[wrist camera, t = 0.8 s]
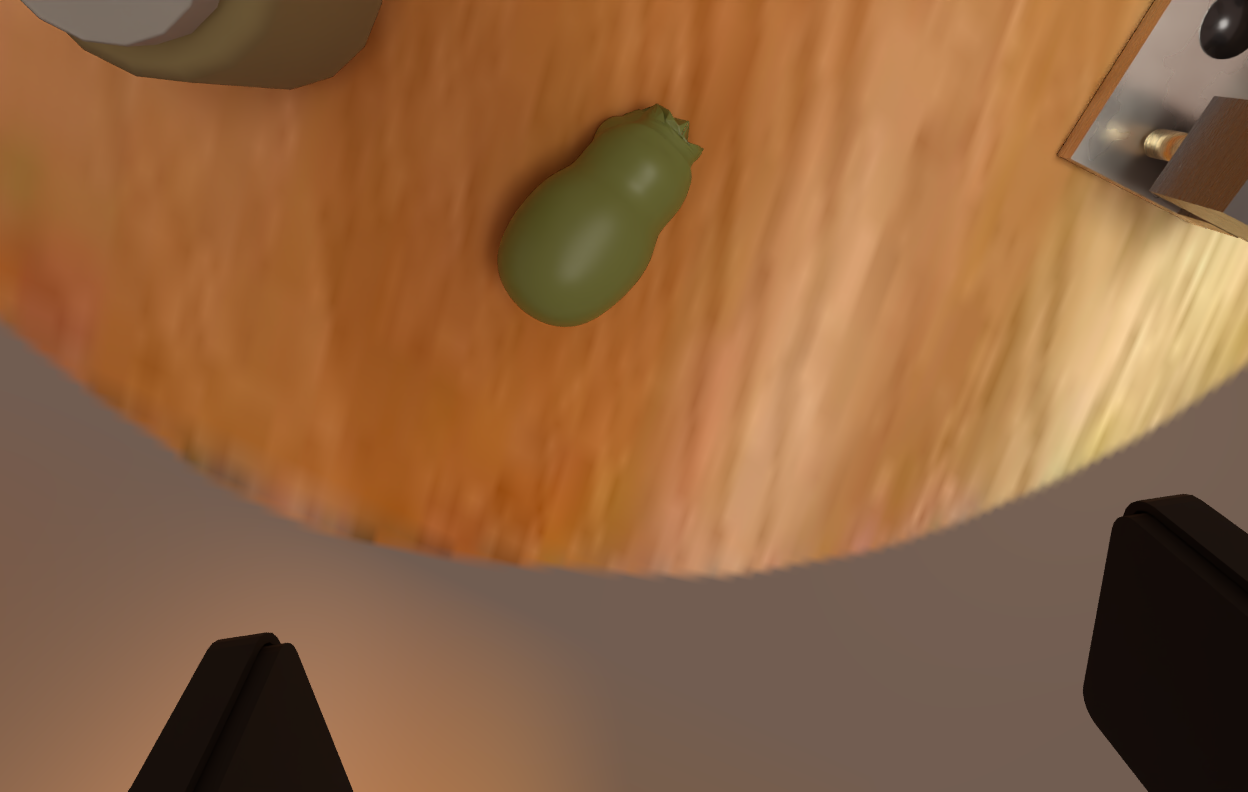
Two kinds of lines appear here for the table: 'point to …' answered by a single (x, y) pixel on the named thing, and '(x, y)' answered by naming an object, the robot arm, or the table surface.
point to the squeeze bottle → (218, 37)
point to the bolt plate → (1162, 92)
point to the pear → (597, 219)
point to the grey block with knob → (1207, 165)
